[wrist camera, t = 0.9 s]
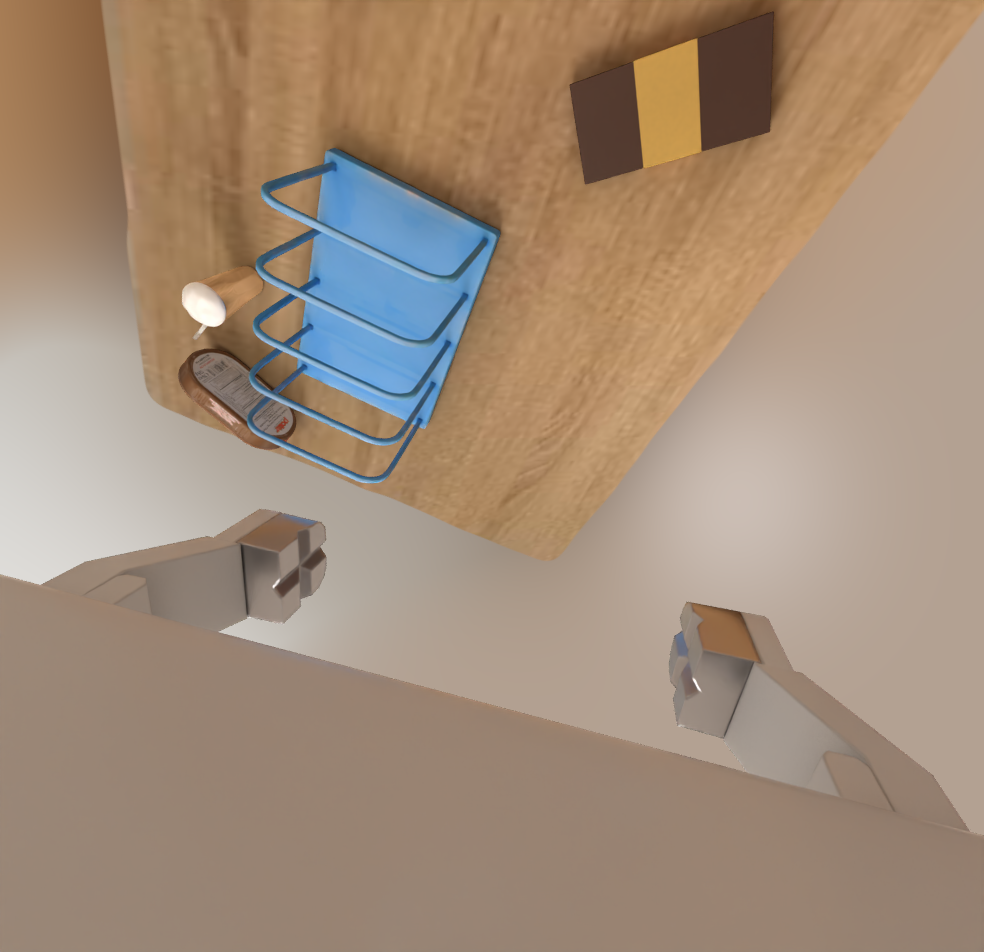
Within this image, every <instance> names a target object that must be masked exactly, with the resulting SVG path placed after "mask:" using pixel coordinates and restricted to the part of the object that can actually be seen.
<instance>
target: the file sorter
mask: <svg viewBox="0 0 984 952" xmlns="http://www.w3.org/2000/svg"><path fill="white" fill-rule="evenodd" d="M321 174H322V181H321V189H320V197H319V205H318V212H317V220H316V219H314V218H312V217H310V216H308V215H306V214H304V213H302V212H300V211H297V210H295V209H293V208H291V207H289V206H287V205H285V204H283V203H282V202H280V201H278V200H277V199H275V198H274V197H273V196H272V195H271V194H270V192H272V191H274V190H277V189H280V188H283V187H286V186H289V185H292V184H294V183H297V182H300V181H303V180H306V179H309V178H312V177H315V176H318V175H321ZM261 196H262V198H263V199H264V201H265V202H266V203H267V204H269V205H270V206H271V207H273V208H274V209H276V210H278V211H280V212H282V213H284V214H286V215H288V216H290V217H292V218H294V219H296V220H298V221H300V222H302V223H304V224H306V225H308V226H310V227H312V228H314V229H312V230H310V231H308V232H306V233H304V234H302V235H300V236H298V237H296V238H294V239H292V240H291V241H289V242H286V243H284V244H282V245H280V246H278V247H276V248H274V249H272V250H270V251H269V252H267V253H265V254H263V255H261V256H260V257H259V258H258V259H257V260H256V270H257V272H258V274H259V275H260V276H261V277H262V278H263V279H264V280H266V281H267V282H269V283H270V284H272V285H274V286H276V287H278V288H280V289H282V290H284V291H286V292H288V293H291V294H289V295H288V296H286V297H284V298H283V299H281V300H280V301H278V302H277V303H275V304H274V305H272V306H271V307H269V308H268V309H266V310H265V311H263V312H262V313H260V314H259V315H258V316H257V317H256V318H255V319H254V321H253V330H254V333H255V334H256V335H257V336H258V337H259V338H260V339H261V340H262V341H264V342H265V343H267V344H269V345H271V346H273V347H275V348H276V349H275V350H273V351H272V352H271V353H270V354H268V355H267V356H266V357H264V358H263V359H262V360H260V361H259V362H258V363H257V364H256V365H254V366H253V367H252V369H251V370H250V373H249V380H250V383H251V385H252V386H253V387H254V388H255V389H256V390H257V391H259V392H260V393H262V394H263V395H266V397H265V398H264V399H262V400H261V401H260V402H259V403H258V404H257V405H256V406H255V407H254V408H253V409H252V410H251V411H250V412H249V414H248V416H247V424H248V427H249V428H250V430H251V431H252V432H253V433H254V434H256V435H258V436H259V437H261V438H263V439H265V440H268V441H270V442H272V443H274V444H276V445H279V446H281V447H283V448H285V449H287V450H289V451H292V452H294V453H296V454H298V455H300V456H303V457H305V458H307V459H309V460H311V461H314V462H316V463H318V464H320V465H322V466H325V467H327V468H329V469H332V470H334V471H336V472H338V473H340V474H343V475H345V476H347V477H350V478H352V479H354V480H357V481H359V482H364V483H377V482H381V481H383V480H385V479H386V478H387V477H388V476H389V475H390V474H391V472H392V471H393V469H394V467H395V466H396V464H397V463H398V461H399V459H400V458H401V456H402V454H403V453H404V451H405V449H406V448H407V446H408V444H409V443H410V441H411V439H412V438H413V436H414V434H415V433H416V431H417V429H418V428H419V427H420V428H423V429H424V428H425V427H426V426H427V424H428V423H429V421H430V419H431V416H432V413H433V410H434V408H435V405H436V402H437V400H438V397H439V395H440V392H441V389H442V387H443V384H444V381H445V379H446V376H447V374H448V371H449V368H450V366H451V363H452V360H453V358H454V355H455V352H456V350H457V347H458V345H459V342H460V339H461V337H462V334H463V331H464V329H465V326H466V324H467V321H468V318H469V316H470V313H471V310H472V308H473V305H474V303H475V300H476V297H477V295H478V292H479V289H480V287H481V284H482V282H483V279H484V276H485V274H486V271H487V268H488V266H489V263H490V261H491V258H492V255H493V253H494V250H495V248H496V245H497V242H498V240H499V237H500V231H499V230H497V229H495V228H493V227H491V226H489V225H487V224H485V223H483V222H481V221H479V220H477V219H475V218H473V217H471V216H469V215H467V214H465V213H463V212H461V211H459V210H457V209H455V208H453V207H451V206H449V205H447V204H446V203H444V202H442V201H440V200H438V199H436V198H434V197H432V196H429V195H427V194H425V193H423V192H421V191H419V190H418V189H416V188H414V187H412V186H410V185H408V184H406V183H404V182H402V181H400V180H398V179H396V178H394V177H392V176H390V175H388V174H386V173H384V172H382V171H380V170H378V169H376V168H374V167H372V166H370V165H368V164H366V163H364V162H362V161H360V160H358V159H356V158H354V157H352V156H350V155H348V154H346V153H344V152H342V151H341V150H339V149H337V148H333V149H330V150H327V151H326V153H325V158H324V164H322V165H319V166H316V167H313V168H310V169H306V170H303V171H300V172H297V173H294V174H290V175H287V176H284V177H281V178H278V179H275V180H272V181H269V182H266V183H264V184H263V185H262V187H261ZM313 237H314V243H313V250H312V257H311V265H310V273H309V280H308V283H306V284H305V285H303V286H301V287H300V288H297V287H295V286H293V285H291V284H289V283H286V282H284V281H282V280H280V279H278V278H276V277H274V276H273V275H271V274H270V273H268V272H267V271H266V270H265V269H264V267H263V265H264V264H266V263H267V262H269V261H271V260H272V259H274V258H276V257H278V256H280V255H282V254H284V253H286V252H287V251H289V250H291V249H293V248H295V247H297V246H299V245H300V244H302V243H304V242H306V241H308V240H310V239H311V238H313ZM306 291H307V292H306ZM297 297H299V298H301V299H303V300H305V301H306V303H305V311H304V318H303V325H302V329H301V330H300V331H299V332H297V333H296V334H295V335H293V336H292V337H290V338H289V339H288V340H287V341H285V342H284V343H282V342H280V341H278V340H275V339H273V338H271V337H270V336H268V335H267V334H265V333H264V332H263V331H262V330H261V329H260V327H259V325H260V324H261V323H262V322H263V321H264V320H266V319H267V318H269V317H270V316H271V315H272V314H274V313H275V312H277V311H278V310H280V309H281V308H283V307H284V306H286V305H287V304H289V303H290V302H291V301H293V300H294V299H296V298H297ZM299 338H301V341H300V348H299V350H296V349H294V348H292V347H290V345H292V344H293V343H294V342H295V341H297V340H298V339H299ZM281 352H285V353H288V354H290V355H292V356H294V357H296V358H298V363H297V370H296V371H295V372H294V373H292V374H291V375H290V376H289V377H288V378H287V379H285V380H284V381H283V382H282V383H281V384H280V385H279V386H277V387H276V388H275V389H274V390H273V391H270V390H268V389H267V388H265V387H263V386H262V385H261V384H259V383H258V381H257V380H256V378H255V375H256V373H257V372H258V371H259V370H260V369H261V368H262V367H264V366H265V365H266V364H267V363H269V362H270V361H271V360H272V359H274V358H275V357H276V356H278V355H279V354H280V353H281ZM301 373H304V374H306V375H308V376H310V377H313V378H315V379H317V380H319V381H321V382H323V383H325V384H327V385H330V386H332V387H334V388H336V389H338V390H340V391H342V392H345V393H347V394H349V395H351V396H353V397H355V398H358V399H360V400H362V401H364V402H366V403H368V404H371V405H373V406H375V407H377V408H379V409H381V410H384V411H386V412H388V413H390V414H392V415H394V416H397V417H399V418H401V419H403V420H405V421H406V423H405V424H404V426H403V427H402V428H401V430H400V431H399V432H398V434H397V435H396V436H394V437H391V438H387V439H382V438H375V437H371V436H369V435H367V434H364V433H362V432H360V431H358V430H355V429H353V428H351V427H349V426H347V425H344V424H342V423H340V422H338V421H335V420H333V419H331V418H329V417H327V416H325V415H322V414H320V413H318V412H316V411H314V410H312V409H309V408H307V407H305V406H303V405H301V404H299V403H296V402H294V401H292V400H290V399H288V398H286V397H284V396H281V395H279V394H278V393H279V392H280V391H282V390H283V389H284V388H285V387H286V386H287V385H288V384H290V383H291V382H292V381H293V380H294V379H295V378H296V377H298V376H299V375H300V374H301ZM271 399H274V400H276V401H278V402H280V403H282V404H284V405H287V406H289V407H291V408H293V409H295V410H297V411H300V412H302V413H304V414H306V415H308V416H310V417H312V418H315V419H317V420H319V421H321V422H324V423H326V424H328V425H330V426H332V427H334V428H337V429H339V430H341V431H343V432H346V433H348V434H350V435H352V436H354V437H357V438H359V439H361V440H363V441H366V442H368V443H371V444H375V445H391V444H394V443H396V442H398V441H399V440H400V439H401V438H402V437H403V436H404V434H405V433H406V431H407V430H408V428H409V427H410V425H411V424H414V427H413V429H412V430H411V432H410V434H409V435H408V437H407V438H406V440H405V442H404V443H403V445H402V447H401V448H400V450H399V452H398V453H397V455H396V457H395V458H394V460H393V461H392V463H391V464H390V466H389V467H388V469H387V470H386V471H385V472H384V473H383V474H382V475H380V476H377V477H365V476H361V475H358V474H356V473H354V472H352V471H349V470H347V469H345V468H343V467H340V466H338V465H336V464H334V463H331V462H329V461H327V460H325V459H322V458H320V457H318V456H315V455H313V454H311V453H309V452H307V451H305V450H302V449H300V448H298V447H296V446H294V445H291V444H289V443H287V442H285V441H283V440H281V439H278V438H276V437H274V436H272V435H270V434H268V433H265V432H264V431H262V430H260V429H259V428H257V427H256V426H255V424H254V423H253V417H254V415H255V414H256V413H257V412H258V411H259V410H260V409H261V408H263V407H264V406H265V405H266V404H267V403H268V402H269V401H270V400H271Z"/></svg>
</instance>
